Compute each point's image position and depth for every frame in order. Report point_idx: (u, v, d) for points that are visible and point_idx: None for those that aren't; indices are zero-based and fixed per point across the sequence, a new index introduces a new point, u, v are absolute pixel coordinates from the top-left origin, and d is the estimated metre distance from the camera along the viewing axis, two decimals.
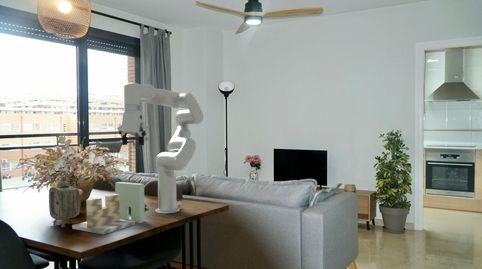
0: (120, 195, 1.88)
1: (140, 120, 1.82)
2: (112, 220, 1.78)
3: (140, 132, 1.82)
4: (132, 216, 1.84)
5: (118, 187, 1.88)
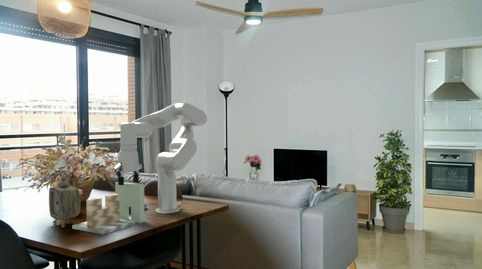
0: (120, 195, 1.88)
1: None
2: (112, 220, 1.78)
3: (137, 170, 1.90)
4: (132, 216, 1.84)
5: (118, 187, 1.88)
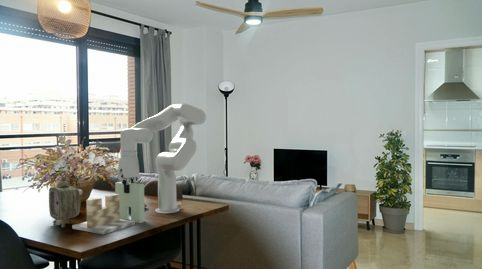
0: (120, 195, 1.88)
1: None
2: (112, 220, 1.78)
3: None
4: (132, 216, 1.84)
5: (118, 187, 1.88)
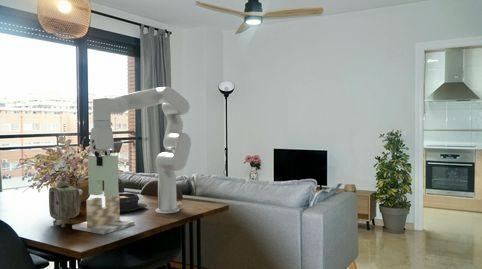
0: (93, 168, 1.76)
1: None
2: (112, 220, 1.78)
3: None
4: (105, 190, 1.73)
5: (91, 160, 1.77)
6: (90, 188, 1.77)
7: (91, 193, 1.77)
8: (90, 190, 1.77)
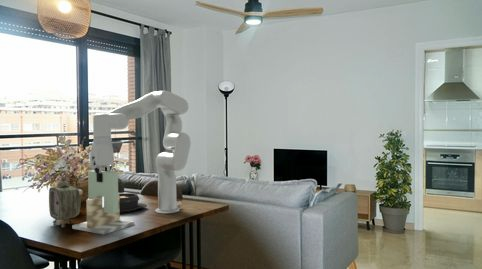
0: (93, 184, 1.76)
1: None
2: (112, 220, 1.78)
3: None
4: (105, 206, 1.73)
5: (91, 176, 1.77)
6: None
7: None
8: None
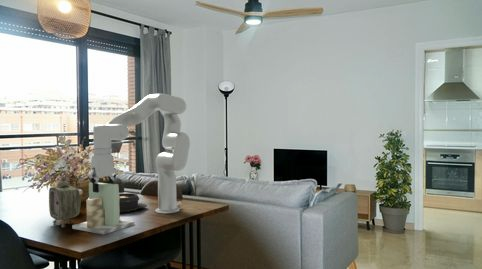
0: (94, 196, 1.76)
1: None
2: None
3: (112, 176, 1.79)
4: (106, 219, 1.73)
5: (91, 188, 1.77)
6: None
7: None
8: None
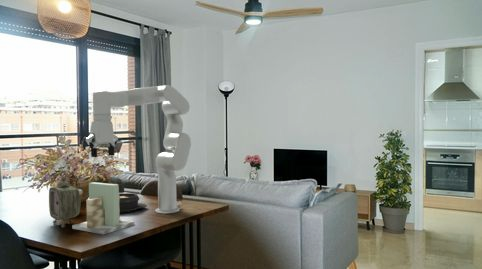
0: (94, 196, 1.76)
1: None
2: None
3: (113, 142, 1.79)
4: (106, 219, 1.73)
5: (91, 188, 1.77)
6: None
7: None
8: None
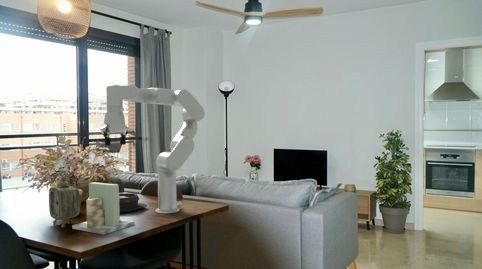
0: (94, 196, 1.76)
1: None
2: None
3: (124, 132, 1.94)
4: (106, 219, 1.73)
5: (91, 188, 1.77)
6: None
7: None
8: None
